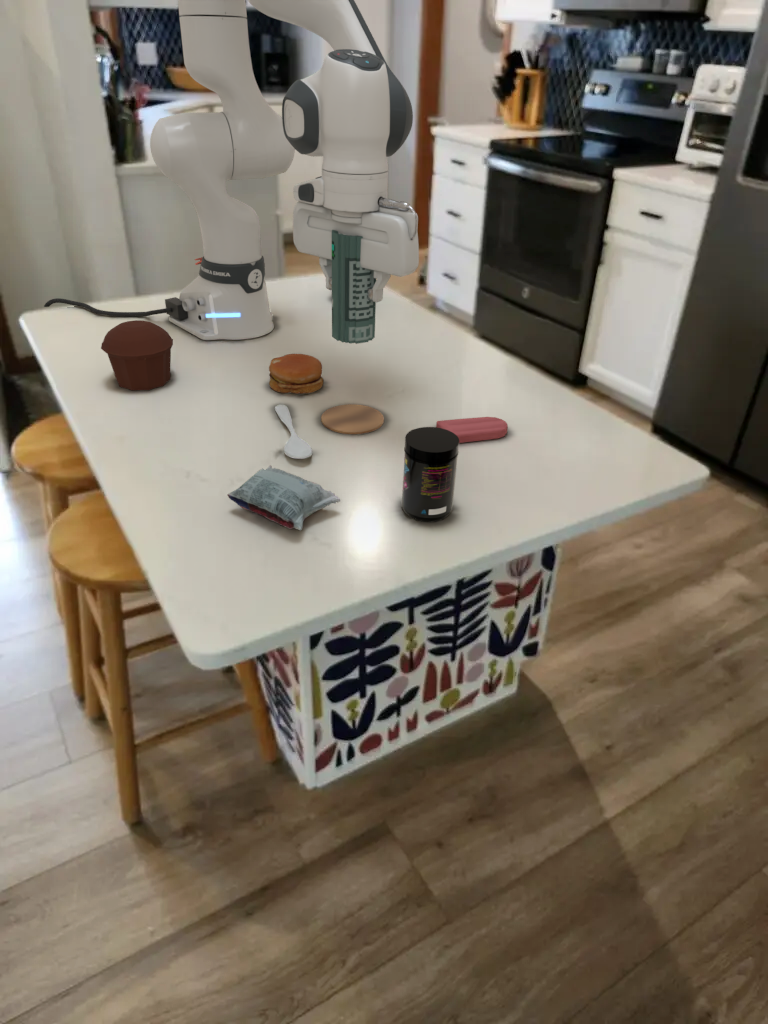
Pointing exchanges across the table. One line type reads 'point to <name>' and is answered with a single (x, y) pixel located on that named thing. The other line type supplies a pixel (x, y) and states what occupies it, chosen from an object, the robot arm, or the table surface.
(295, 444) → the spoon
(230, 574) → the table surface
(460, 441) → the popsicle
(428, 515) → the supplement container
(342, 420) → the cork coaster
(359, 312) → the can
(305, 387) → the burger
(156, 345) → the muffin
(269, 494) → the packaged food
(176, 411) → the table surface
